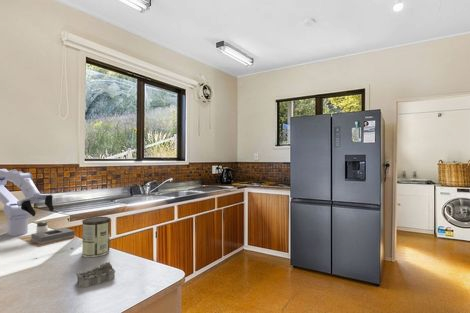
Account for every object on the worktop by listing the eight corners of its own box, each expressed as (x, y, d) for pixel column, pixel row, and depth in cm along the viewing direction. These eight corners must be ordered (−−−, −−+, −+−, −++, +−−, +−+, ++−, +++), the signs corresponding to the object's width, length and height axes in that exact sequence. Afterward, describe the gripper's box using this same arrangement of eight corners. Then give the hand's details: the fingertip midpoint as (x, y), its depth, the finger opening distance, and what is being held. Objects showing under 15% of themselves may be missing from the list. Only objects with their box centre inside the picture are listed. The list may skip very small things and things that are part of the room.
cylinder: (34, 236, 130) (35, 222, 130) (45, 234, 134) (45, 221, 134) (38, 237, 128) (39, 224, 128) (49, 235, 132) (49, 222, 132)
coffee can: (92, 248, 117) (92, 216, 117) (114, 249, 116) (115, 216, 116) (75, 256, 107) (76, 221, 107) (100, 258, 106) (100, 222, 106)
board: (16, 239, 128) (16, 237, 128) (55, 231, 142) (56, 229, 142) (38, 249, 115) (38, 247, 115) (79, 239, 129) (79, 237, 129)
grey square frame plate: (40, 244, 118) (41, 237, 118) (31, 240, 123) (31, 233, 123) (74, 237, 130) (74, 230, 130) (64, 233, 135) (64, 227, 135)
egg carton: (111, 273, 93) (111, 261, 93) (116, 280, 87) (116, 268, 87) (75, 280, 87) (75, 268, 87) (78, 290, 81) (79, 276, 81)
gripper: (14, 189, 123) (27, 211, 119) (49, 183, 135) (62, 202, 131) (11, 199, 126) (24, 221, 122) (45, 192, 138) (58, 212, 134)
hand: (43, 212), depth 127 cm, fingers open, 7 cm apart
